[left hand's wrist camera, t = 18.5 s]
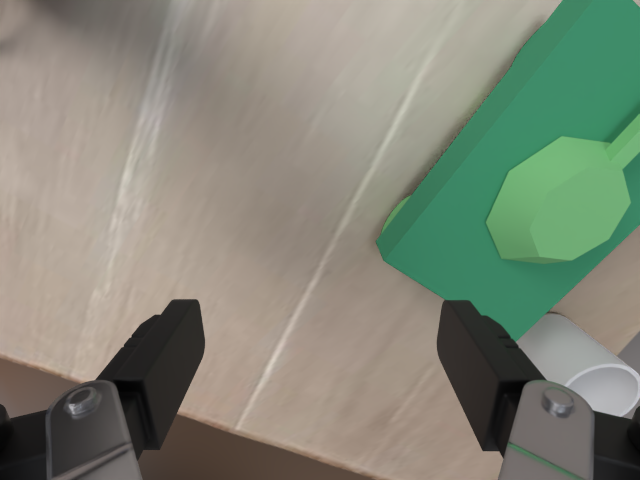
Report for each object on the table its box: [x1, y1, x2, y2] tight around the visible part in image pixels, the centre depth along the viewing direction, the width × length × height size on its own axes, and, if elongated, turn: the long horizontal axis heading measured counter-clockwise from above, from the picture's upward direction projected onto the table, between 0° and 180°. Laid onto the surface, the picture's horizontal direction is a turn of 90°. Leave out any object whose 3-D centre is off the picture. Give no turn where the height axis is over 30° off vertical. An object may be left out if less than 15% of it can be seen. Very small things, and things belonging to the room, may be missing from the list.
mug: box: [516, 313, 640, 417], centre depth 42 cm, size 11×9×10 cm
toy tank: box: [376, 0, 640, 342], centre depth 32 cm, size 18×12×35 cm
